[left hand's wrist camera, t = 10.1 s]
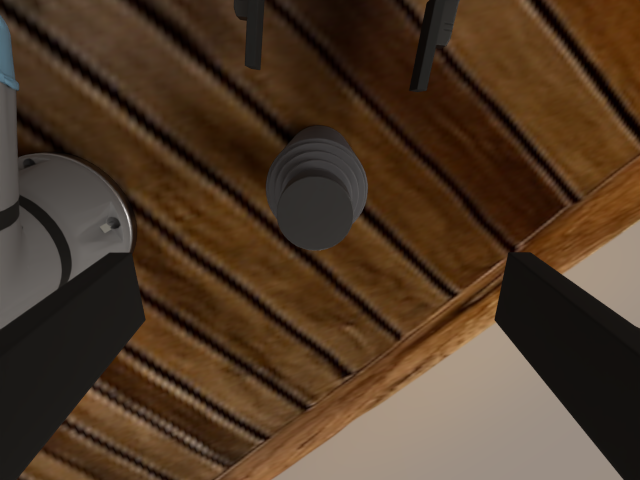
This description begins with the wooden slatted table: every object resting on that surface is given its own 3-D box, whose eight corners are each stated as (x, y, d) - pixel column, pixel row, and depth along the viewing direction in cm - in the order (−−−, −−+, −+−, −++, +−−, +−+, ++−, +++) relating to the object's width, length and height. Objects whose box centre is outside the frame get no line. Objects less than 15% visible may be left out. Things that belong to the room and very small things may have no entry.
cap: (352, 170, 20) (356, 177, 18) (348, 237, 21) (351, 251, 19) (280, 167, 20) (276, 174, 18) (281, 235, 21) (276, 249, 19)
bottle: (353, 126, 36) (385, 149, 18) (348, 191, 39) (373, 272, 20) (286, 124, 36) (249, 144, 18) (286, 189, 39) (253, 268, 20)
